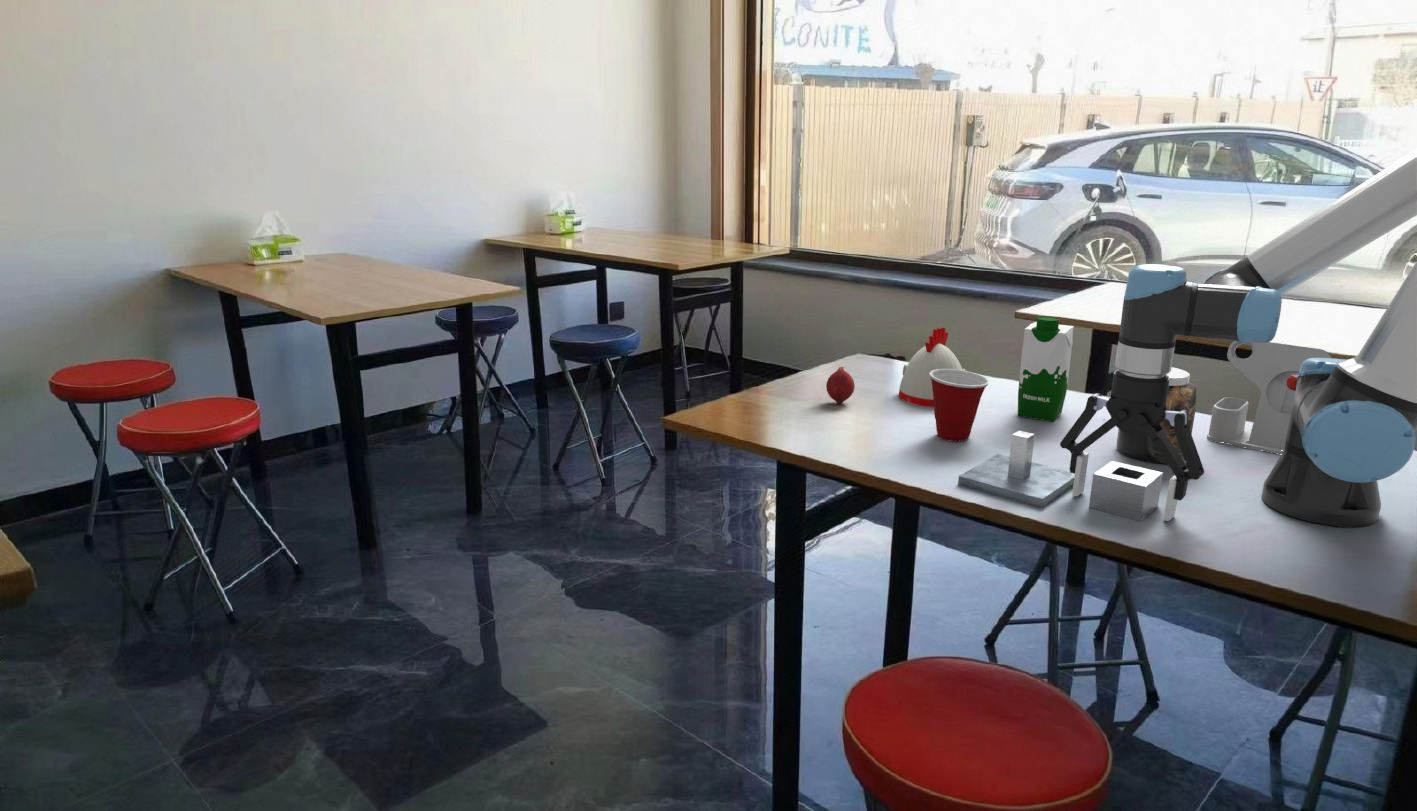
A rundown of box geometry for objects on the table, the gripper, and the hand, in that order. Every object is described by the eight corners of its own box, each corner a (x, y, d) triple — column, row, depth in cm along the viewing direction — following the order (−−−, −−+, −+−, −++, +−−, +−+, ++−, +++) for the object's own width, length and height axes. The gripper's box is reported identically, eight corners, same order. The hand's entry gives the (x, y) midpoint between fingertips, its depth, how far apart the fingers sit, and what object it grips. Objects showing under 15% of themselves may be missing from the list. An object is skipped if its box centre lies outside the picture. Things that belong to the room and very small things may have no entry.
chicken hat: (977, 397, 197) (983, 328, 193) (946, 411, 187) (952, 339, 183) (919, 385, 206) (923, 319, 202) (886, 398, 196) (890, 329, 192)
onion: (855, 407, 190) (857, 370, 187) (827, 407, 190) (828, 370, 187) (851, 399, 195) (853, 362, 193) (824, 399, 195) (825, 362, 193)
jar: (1105, 453, 164) (1116, 371, 159) (1129, 437, 172) (1140, 359, 168) (1175, 469, 156) (1189, 384, 152) (1197, 452, 164) (1210, 371, 160)
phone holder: (1202, 439, 171) (1218, 344, 166) (1217, 426, 178) (1233, 335, 173) (1311, 461, 160) (1331, 361, 155) (1322, 447, 167) (1343, 350, 162)
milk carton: (1011, 416, 184) (1021, 318, 178) (1023, 405, 191) (1033, 310, 185) (1057, 424, 179) (1069, 323, 173) (1067, 412, 187) (1079, 315, 181)
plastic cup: (986, 448, 166) (992, 384, 163) (925, 444, 168) (929, 381, 165) (982, 429, 176) (987, 368, 173) (924, 425, 178) (928, 365, 175)
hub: (1157, 506, 141) (1162, 472, 140) (1140, 521, 136) (1145, 486, 134) (1107, 493, 146) (1111, 460, 145) (1088, 507, 141) (1093, 473, 139)
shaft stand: (1077, 482, 151) (1084, 433, 148) (1041, 508, 141) (1047, 455, 138) (997, 461, 160) (1002, 415, 157) (958, 484, 150) (962, 435, 147)
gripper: (1243, 382, 129) (1218, 521, 136) (1068, 352, 146) (1052, 477, 152) (1228, 393, 124) (1202, 537, 131) (1048, 361, 140) (1033, 490, 147)
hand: (1122, 505), depth 141 cm, fingers open, 13 cm apart
